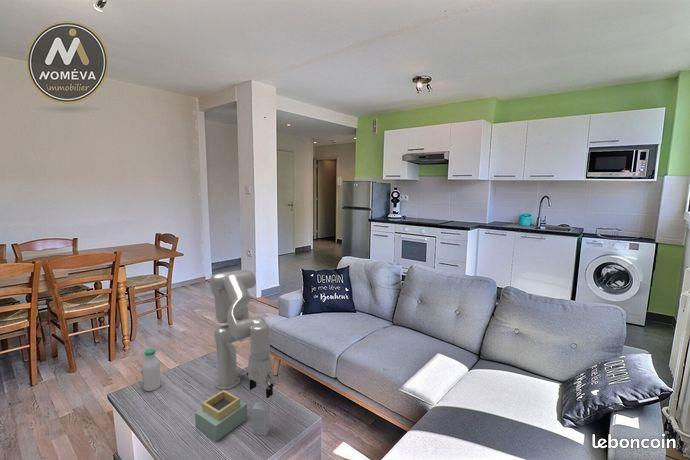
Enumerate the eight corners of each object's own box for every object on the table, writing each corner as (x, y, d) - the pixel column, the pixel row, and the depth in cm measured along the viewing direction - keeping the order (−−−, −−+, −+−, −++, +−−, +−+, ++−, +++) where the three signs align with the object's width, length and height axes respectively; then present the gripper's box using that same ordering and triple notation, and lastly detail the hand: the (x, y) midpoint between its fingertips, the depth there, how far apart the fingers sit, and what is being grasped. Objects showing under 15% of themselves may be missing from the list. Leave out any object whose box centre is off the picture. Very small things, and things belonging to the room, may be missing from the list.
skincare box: (269, 428, 140) (269, 403, 138) (266, 436, 136) (266, 410, 134) (256, 427, 140) (255, 401, 139) (252, 434, 136) (251, 408, 134)
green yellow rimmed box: (226, 406, 153) (226, 385, 151) (247, 418, 145) (246, 396, 144) (195, 427, 139) (194, 404, 138) (216, 441, 132) (215, 418, 131)
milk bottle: (164, 384, 168) (162, 348, 165) (151, 393, 161) (148, 355, 158) (153, 381, 170) (150, 345, 167) (139, 389, 163) (137, 352, 160)
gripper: (238, 351, 134) (239, 389, 136) (268, 364, 125) (269, 404, 127) (252, 344, 141) (253, 381, 143) (282, 355, 131) (282, 394, 134)
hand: (261, 392), depth 135 cm, fingers open, 9 cm apart
